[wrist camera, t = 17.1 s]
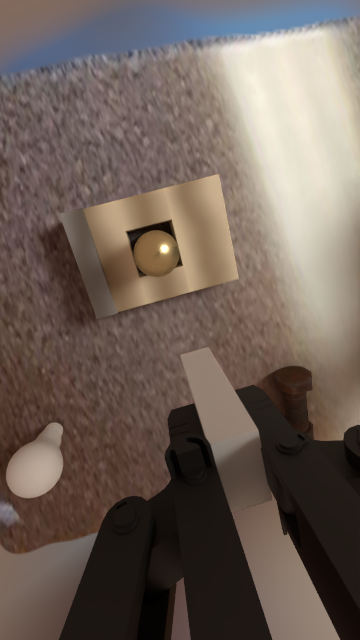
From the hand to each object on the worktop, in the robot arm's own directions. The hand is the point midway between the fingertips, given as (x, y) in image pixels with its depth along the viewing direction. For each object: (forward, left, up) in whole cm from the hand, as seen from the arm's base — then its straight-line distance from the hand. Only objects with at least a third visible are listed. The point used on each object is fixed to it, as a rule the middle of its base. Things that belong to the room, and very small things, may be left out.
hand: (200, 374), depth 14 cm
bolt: (-14, +24, -25) cm, 37 cm away
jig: (0, -6, -24) cm, 25 cm away
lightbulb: (+21, +15, -25) cm, 36 cm away
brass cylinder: (0, -6, -24) cm, 25 cm away
